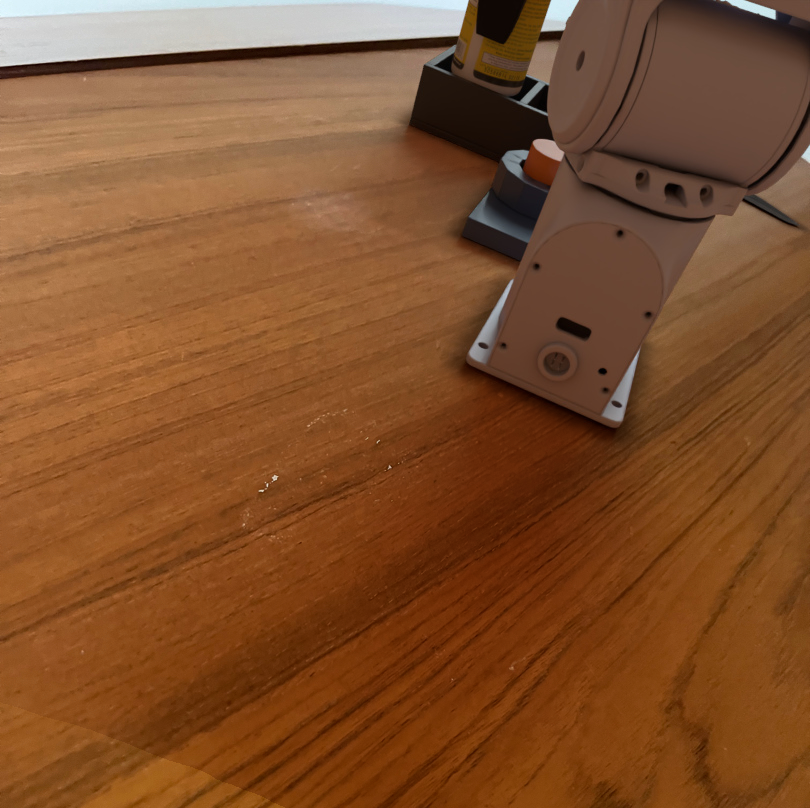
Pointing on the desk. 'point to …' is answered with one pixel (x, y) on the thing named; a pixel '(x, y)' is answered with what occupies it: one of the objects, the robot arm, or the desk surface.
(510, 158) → the block
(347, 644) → the desk surface
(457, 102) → the rack
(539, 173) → the button
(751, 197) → the knife
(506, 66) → the supplement bottle
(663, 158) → the robot arm
